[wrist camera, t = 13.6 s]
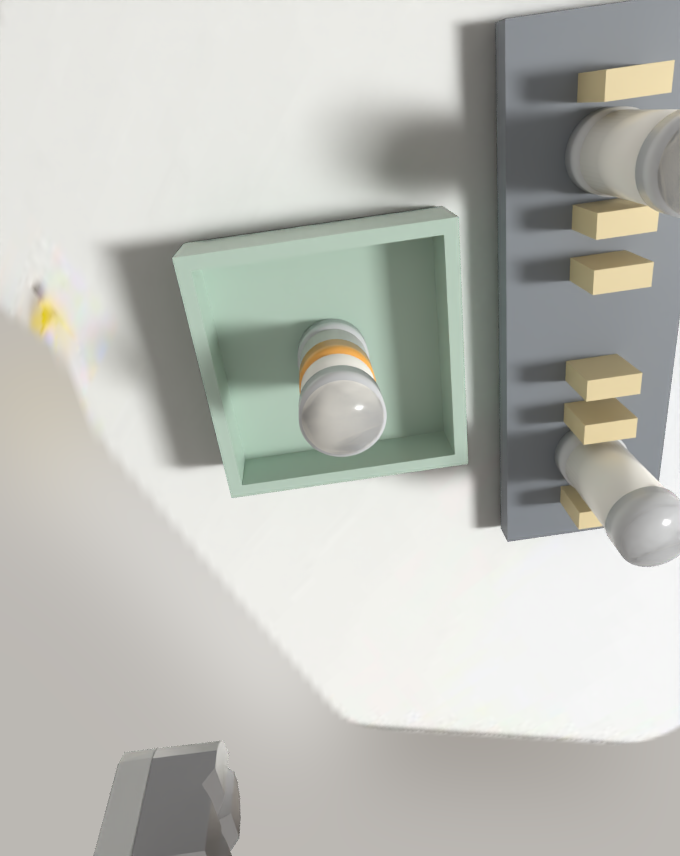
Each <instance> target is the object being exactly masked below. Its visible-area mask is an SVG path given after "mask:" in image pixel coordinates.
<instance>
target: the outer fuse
mask: <svg viewBox="0 0 680 856" xmlns="http://www.w3.org/2000/svg"><path fill="white" fill-rule="evenodd" d="M554 460H555V464H556V466H557V468H558V470H559V471H560V472H561V474H562V475H563V476H564V478H565V479H566V480H567V482H568V483H569V484H570V485H571V486H572V487H574V488H575V489H576V490H577V492H578V493H579V495H580V496H581V497H582V499H583V500H584V501H585V503H586V504H587V505H588V507H589V508H590V509H591V511H592V512H593V513H594V515H595V516H596V517H597V519H598V520H599V521H600V523H601V524H602V526H603V527H604V528H605V530H606V533H607V536H608V537H609V539H610V540H611V542H612V543H613V544H614V546H615V547H616V548H617V550H618V551H619V553H620V554H621V555H622V557H623V558H624V559H625V560H626V561H628V562H629V563H631V564H633V565H637V566H642V567H651V566H658V565H661V564H664V563H667V562H669V561H671V560H673V559H675V558H676V557H678V556H679V555H680V499H679V498H678V497H677V496H676V495H675V494H674V493H673V492H671V491H670V490H668V489H666V488H664V487H663V486H662V485H661V484H660V482H659V481H658V480H657V479H656V478H655V477H654V476H653V475H652V474H651V473H650V472H649V471H648V470H647V469H646V468H645V467H644V466H643V465H642V464H641V463H640V462H639V461H638V460H637V459H636V458H635V457H634V456H633V455H632V454H631V453H630V452H629V451H628V450H627V447H626V446H625V444H624V443H623V442H622V441H621V440H615V441H608V442H601V443H594V444H587V445H583V444H582V442H581V441H580V440H579V439H578V438H577V437H576V435H575V434H574V433H573V432H572V431H571V430H570V431H569V432H567V433H566V434H565V435H564V436H563V437H562V438H561V440H560V441H559V443H558V444H557V447H556V449H555V454H554Z"/></svg>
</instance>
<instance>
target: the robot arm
mask: <svg viewBox="0 0 680 856" xmlns="http://www.w3.org/2000/svg"><path fill="white" fill-rule="evenodd" d="M228 755H229V753H228V751H227V748H226V745H225V742H224V741H216V742H208V743H199V744H191V745H182V746H174V747H165V748H154V749H147V750H140V751H132V752H126V753H124V755H123V757H122V758H121V760H120V762H119V764H118V766H117V770H116V774H115V777H114V781H113V785H112V788H111V792H110V796H109V800H108V803H107V807H106V811H105V815H104V819H103V822H102V826H101V829H100V833H99V837H98V841H97V844H96V848H95V852H94V856H232V855H231V852H230V851H231V850H232V848H233V847H234V845H235V844H236V842H237V841H238V839H239V834H240V819H241V816H240V795H239V788H238V782H237V779H236V776H235V772H234V771H232V770H231V769H229V768H227V767H228Z"/></svg>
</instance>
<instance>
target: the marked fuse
mask: <svg viewBox="0 0 680 856" xmlns="http://www.w3.org/2000/svg"><path fill="white" fill-rule="evenodd" d="M298 368H299V391H300V396H299V403H298V413H299V426H300V430H301V432H302V435H303V436H304V438H305V440H306V441H307V442H308V443H309V444H310V445H311V446H312V447H313V448H314V449H316V450H317V451H319V452H321V453H324V454H326V455H330V456H335V457H347V456H353V455H356V454H359V453H361V452H363V451H365V450H367V449H369V448H370V447H371V446H372V445H374V444H375V443H376V442H377V440H378V439H379V438H380V436H381V435H382V433H383V431H384V428H385V425H386V419H387V412H386V407H385V403H384V400H383V397H382V394H381V391H380V388H379V386H378V384H377V383H376V379H375V375H374V372H373V369H372V366H371V362H370V360H369V352H368V349H367V345H366V342H365V339H364V337H363V335H362V334H361V332H360V331H359V330H358V329H357V328H356V327H355V326H354V325H353V324H351V323H349V322H347V321H345V320H342V319H335V318H330V319H324V320H321V321H318V322H316V323H314V324H313V325H311V326H310V327H309V328H308V329H307V330H306V331H305V332H304V333H303V335H302V336H301V338H300V341H299V344H298Z"/></svg>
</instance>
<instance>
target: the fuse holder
mask: <svg viewBox="0 0 680 856" xmlns="http://www.w3.org/2000/svg"><path fill="white" fill-rule="evenodd" d="M496 90H497V186H498V282H499V377H500V473H501V529H502V531H503V533H504V535H505V537H506V539H507V541H508V542H509V541H516V540H523V539H530V538H537V537H544V536H551V535H558V534H565V533H572V532H578V531H585V530H592V529H599V528H604V527H603V526H602V524H601V523H600V521H599V520H598V519H597V517H596V516H595V515H594V513H593V512H592V511H591V509H590V508H589V507H588V505H587V504H586V503H585V501H584V500H583V499H582V497H581V496H580V495H579V493H578V492H577V490H576V489H575V488H574V487H572V486H571V485H570V484H569V483H568V482H567V480H566V479H565V478H564V476H563V475H562V474H561V472H560V471H559V470H558V468H557V466H556V464H555V460H554V454H555V449H556V447H557V444H558V443H559V441H560V440H561V438H562V437H563V436H564V435H565V434H566V433H567V432H569V431H570V430H571V431H572V432H573V433H574V434H575V435H576V437H577V438H578V439H579V440H580V441H581V442H582V444H583V445H587V444H594V443H601V442H608V441H615V440H621V441H622V442H623V443H624V444H625V446H626V447H627V450H628V451H629V452H630V453H631V454H632V455H633V456H634V457H635V458H636V459H637V460H638V461H639V462H640V463H641V464H642V465H643V466H644V467H645V468H646V469H647V470H648V471H649V472H650V473H651V474H652V475H653V476H654V477H655V478H656V479H657V480H658V481H659V476H660V468H661V460H662V452H663V445H664V437H665V429H666V421H667V413H668V405H669V398H670V390H671V382H672V374H673V366H674V358H675V350H676V343H677V335H678V327H679V319H680V218H678V217H674V216H671V215H667V214H663V213H660V212H658V211H655V210H653V209H652V208H650V207H649V206H647V205H643V204H639V203H636V202H632V201H628V200H625V199H621V198H617V197H604V196H599V195H596V194H592V193H589V192H586V191H583V190H581V189H580V188H578V187H577V186H576V185H575V184H574V183H573V182H572V181H571V179H570V177H569V175H568V173H567V170H566V165H565V151H566V147H567V143H568V140H569V138H570V136H571V134H572V132H573V130H574V129H575V127H576V126H577V125H578V124H579V122H580V121H581V120H582V119H583V118H585V117H586V116H587V115H589V114H590V113H592V112H593V111H595V110H598V109H600V108H604V107H613V106H628V107H635V108H638V109H680V0H632V1H625V2H618V3H611V4H604V5H597V6H590V7H583V8H576V9H569V10H562V11H555V12H548V13H541V14H534V15H528V16H521V17H514V18H507V19H503V20H501V21H499V22H496Z"/></svg>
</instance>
